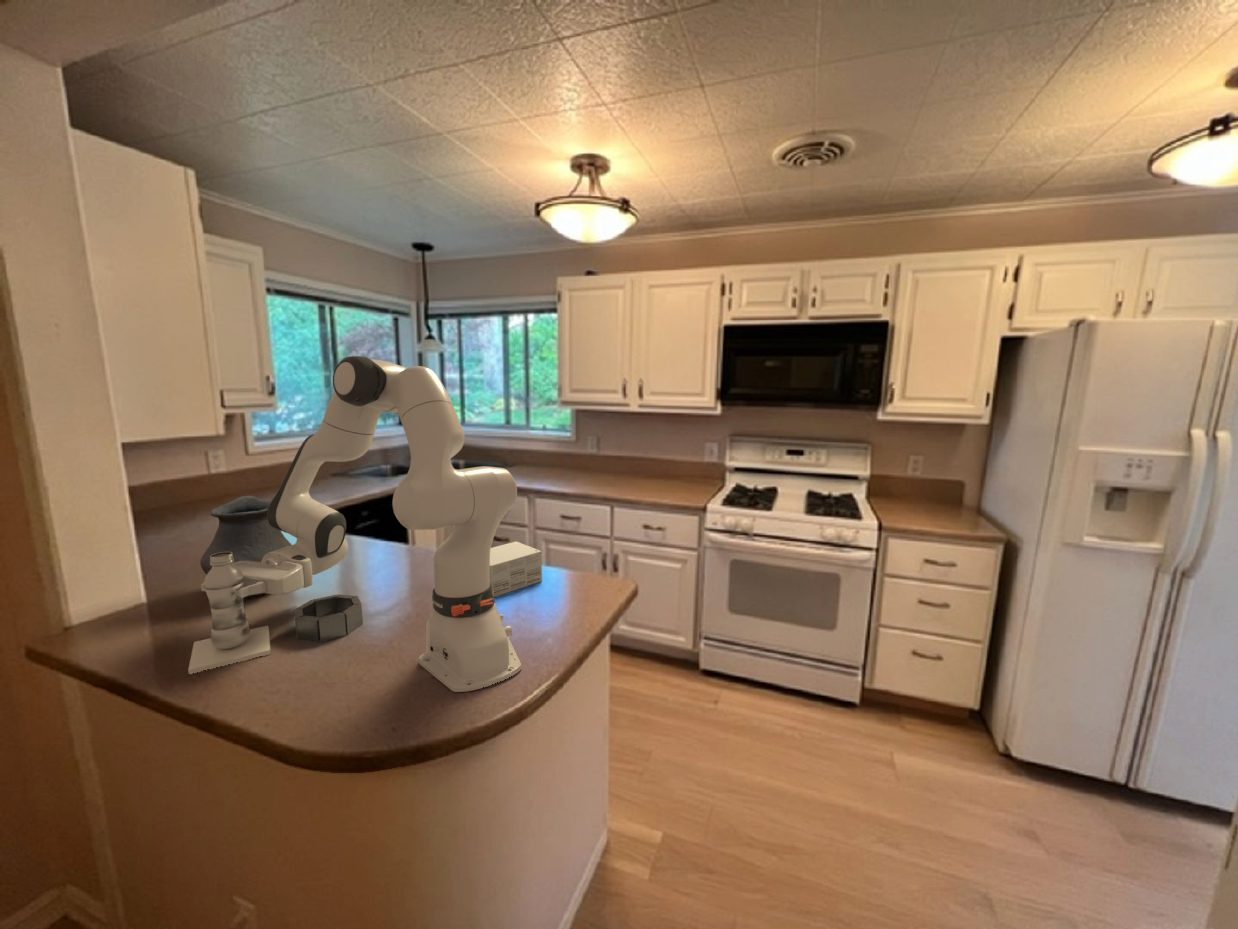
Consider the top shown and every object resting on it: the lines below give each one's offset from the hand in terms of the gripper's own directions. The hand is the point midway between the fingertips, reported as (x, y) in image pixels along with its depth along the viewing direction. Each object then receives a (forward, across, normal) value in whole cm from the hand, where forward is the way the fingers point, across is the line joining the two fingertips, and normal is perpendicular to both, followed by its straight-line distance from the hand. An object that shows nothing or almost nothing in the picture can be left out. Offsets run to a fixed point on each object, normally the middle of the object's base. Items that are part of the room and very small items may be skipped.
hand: (220, 591), depth 102 cm
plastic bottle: (-1, 0, +13) cm, 13 cm away
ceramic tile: (-1, 0, +14) cm, 14 cm away
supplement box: (-51, +37, +14) cm, 64 cm away
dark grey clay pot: (-26, -25, +14) cm, 38 cm away
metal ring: (-15, +11, +14) cm, 23 cm away
